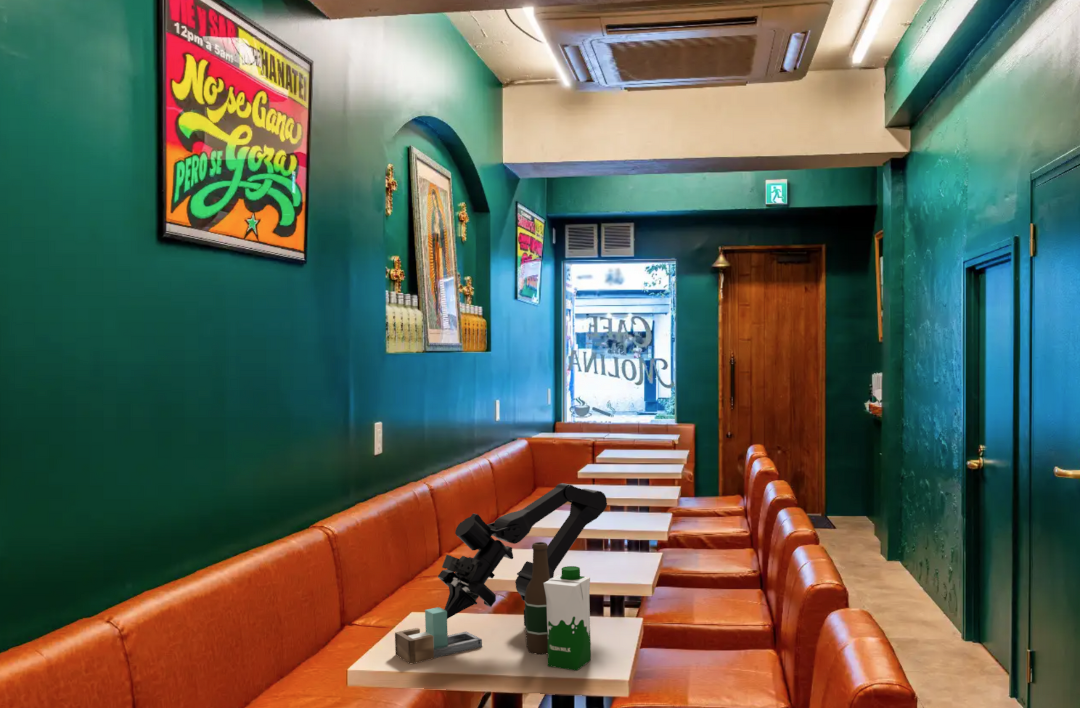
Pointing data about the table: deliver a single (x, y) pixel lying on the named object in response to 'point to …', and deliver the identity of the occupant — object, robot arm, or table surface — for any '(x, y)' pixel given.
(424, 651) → the socket
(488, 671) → the table surface
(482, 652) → the table surface
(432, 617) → the teal block
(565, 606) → the milk carton
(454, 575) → the robot arm
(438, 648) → the rails
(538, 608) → the beer bottle
